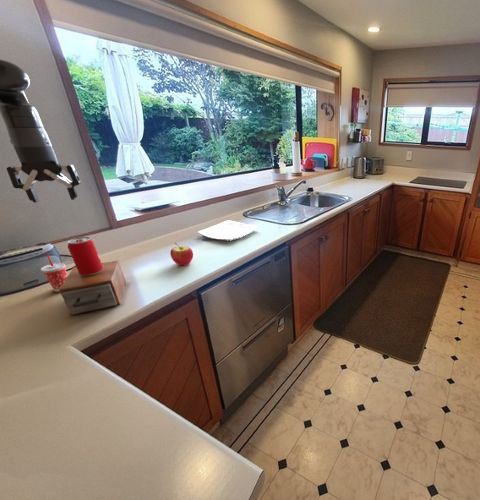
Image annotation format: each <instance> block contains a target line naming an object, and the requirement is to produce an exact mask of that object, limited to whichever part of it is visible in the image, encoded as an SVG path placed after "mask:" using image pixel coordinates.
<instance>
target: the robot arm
mask: <svg viewBox="0 0 480 500" xmlns="http://www.w3.org/2000/svg"><path fill="white" fill-rule="evenodd" d="M30 83H31V81H30V78H29V75H28V74H27V73H26V72H25V70H23V69H22V68H21V67H19V66H18V65H17V64H16V63H13V62H11V61H8V60H5V59H0V116H1V118H2V121H3V123H4V125H5V127H6V131H7V135H8V137H9V140H10V144H11V145H12V147H13V149H14V151H15V154H16V155H17V158H18V161H19V162H20V164H21V166H15V165H10V166H8V167H6V172H7V174H8V177H9V179H10V182H11V185H12V187H13V188H14V189H19V190H23V191H24V192H25V194H26V196H27V198H28V200H29V201H30V202H31V201H32V203H38V202H40V199H39V196H38V194H37V192H36V189H35V188H33V187H34V186H35V183H37V182H46V181H47V182H54V181H57V182H58V183H60V184H62V185H64V186H65V187H66V189H67V192H68V195H69V197H70V200H71V201H75V200H76V199H77V198H78V192H77V189H76V186H79V185H80V184H81V183H82V180H81V179H80V176H79V174H78V172H77V169H76V168H75V165H74V164H73V163H71V164H68V165H61V164H60V163H59V161H58V158H57V155H56V153H55V151H54V148H53V145H52V143H51V140H50V138H49V135H48V132H47V131H46V130H45V128H44V125H43V123H42V120H41V118H40V115H39V112H38V111H37V109H36V107H35V106H33V105H32V104H31V103H30V102H29V100H28V98H27V96H26V93H25V91H26V90H27V89H29V87H30V85H31V84H30ZM62 171H65V172H66V173H68V174H69V176H70V179H71V180H70V179H68V178H67V177H66V176H65V175H64V174H62ZM22 172H23V173H24V174H26V175H28V177H27V179H26V180H25V183H23V181H22V178H21V176H20V174H22Z"/></svg>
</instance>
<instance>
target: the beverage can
mask: <svg viewBox="0 0 480 500" xmlns="http://www.w3.org/2000/svg"><path fill="white" fill-rule="evenodd" d="M67 249H68V251H69V253H70V256H71V258H72V260H73V263H74V265H75V267H76V268H77V270H78V272H79V274H80V275H84V276H90V275H94V274H97V273H99V272H100V271H101V270H102V269H103V266H102V263H103V262H102V261H101V258H100V256H99V253H98V251H97V248H96V245H95V242H94V241H93V240H92V239H91V238H90V237H89V236H80V237H75V238H72V239H69V240H68V241H67Z"/></svg>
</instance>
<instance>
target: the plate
mask: <svg viewBox="0 0 480 500" xmlns="http://www.w3.org/2000/svg"><path fill="white" fill-rule="evenodd" d="M258 228H259V225H257V224H250V223H244V222H239V221H235V220H231V219H227V220H224V221H222V222H219V223H218V224H215V225H212V226H209V227H207V228H205V229H201V230H198V231H197V234H200V235H201V236H204V237H206V238H209V239H212V240H218V241H227V242H228V241H230V242H231V241H234V240H238V239H241V238H244V237H245V236H247V235H249V234H251V233H253V232H254V231H255V230H257V229H258Z"/></svg>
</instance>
